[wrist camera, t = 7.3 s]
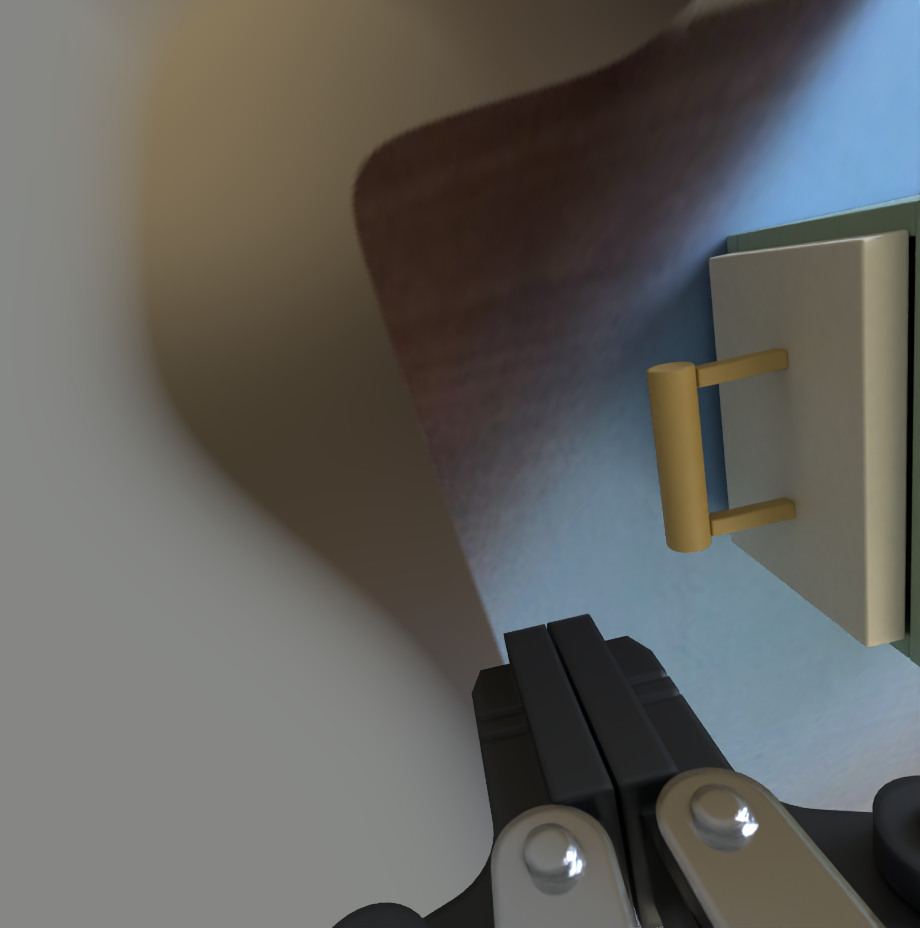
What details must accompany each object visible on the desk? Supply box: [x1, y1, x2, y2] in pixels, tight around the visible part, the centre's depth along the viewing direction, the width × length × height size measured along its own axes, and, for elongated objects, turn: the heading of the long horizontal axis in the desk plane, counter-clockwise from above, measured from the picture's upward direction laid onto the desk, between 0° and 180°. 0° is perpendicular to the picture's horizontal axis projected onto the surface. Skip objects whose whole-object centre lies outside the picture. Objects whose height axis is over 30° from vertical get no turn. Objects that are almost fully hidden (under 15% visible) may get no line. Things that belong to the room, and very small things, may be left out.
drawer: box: [647, 230, 916, 647], centre depth 19 cm, size 18×11×8 cm, turn 102°
